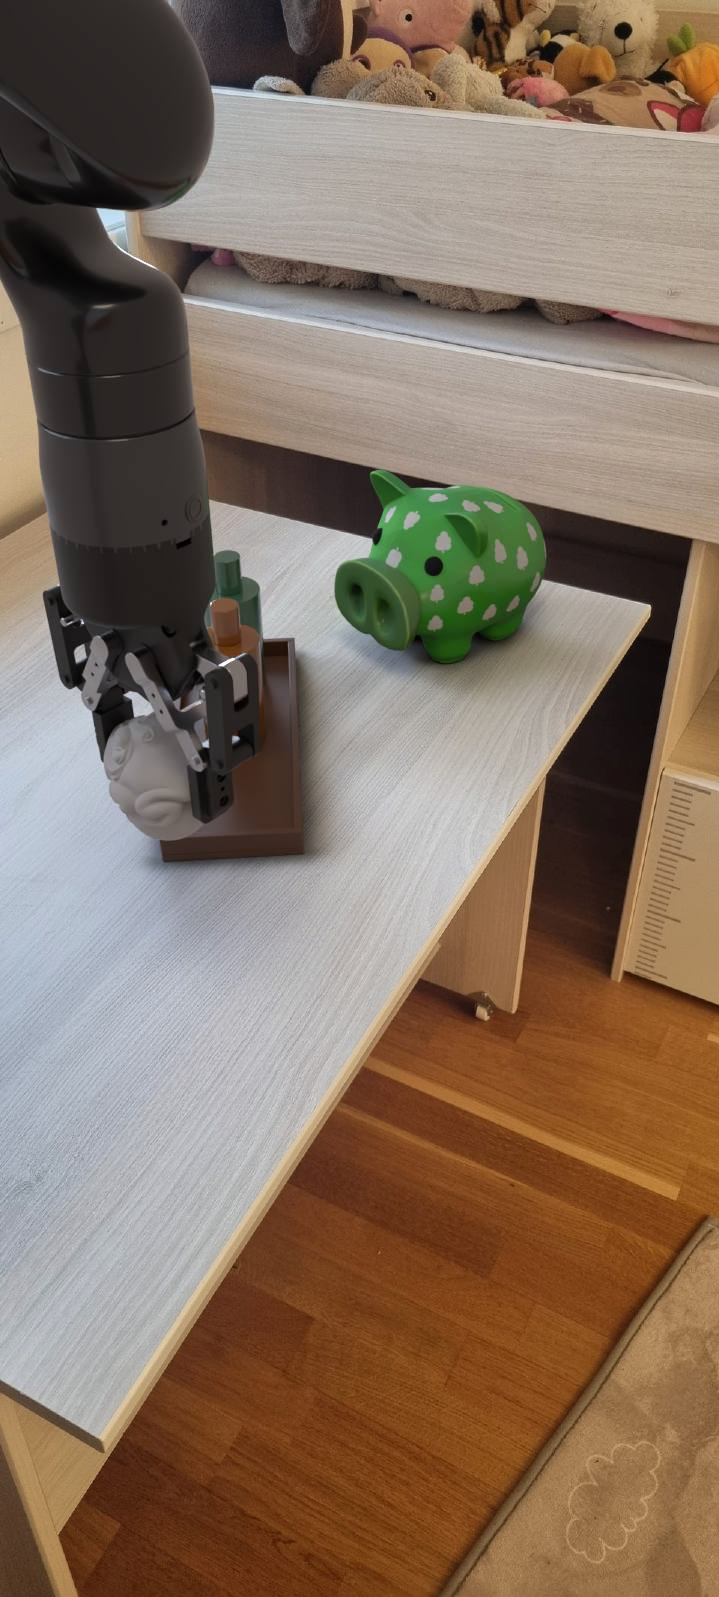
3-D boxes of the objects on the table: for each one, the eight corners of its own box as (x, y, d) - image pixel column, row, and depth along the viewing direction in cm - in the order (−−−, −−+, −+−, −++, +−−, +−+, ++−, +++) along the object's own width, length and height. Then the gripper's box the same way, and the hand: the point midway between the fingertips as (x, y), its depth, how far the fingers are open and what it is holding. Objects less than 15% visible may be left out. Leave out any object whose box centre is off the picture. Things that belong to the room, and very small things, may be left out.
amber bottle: (235, 760, 95) (222, 628, 87) (192, 736, 97) (176, 606, 90) (279, 732, 98) (270, 602, 90) (236, 710, 100) (225, 582, 93)
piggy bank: (321, 637, 111) (315, 483, 101) (465, 577, 119) (472, 431, 110) (422, 703, 102) (426, 541, 93) (570, 633, 111) (587, 479, 101)
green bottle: (237, 704, 101) (225, 576, 94) (196, 683, 104) (182, 557, 96) (278, 680, 104) (270, 554, 97) (238, 660, 107) (227, 536, 99)
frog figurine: (175, 779, 72) (163, 680, 67) (250, 832, 68) (242, 730, 63) (90, 824, 68) (71, 722, 64) (164, 882, 64) (150, 777, 60)
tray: (303, 854, 87) (302, 832, 85) (162, 861, 86) (159, 839, 85) (295, 657, 108) (294, 637, 107) (182, 662, 108) (179, 642, 106)
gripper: (-28, 490, 58) (31, 767, 68) (170, 580, 50) (204, 877, 60) (95, 445, 62) (133, 711, 72) (294, 522, 55) (306, 807, 65)
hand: (165, 786), depth 66 cm, fingers closed on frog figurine, 7 cm apart
